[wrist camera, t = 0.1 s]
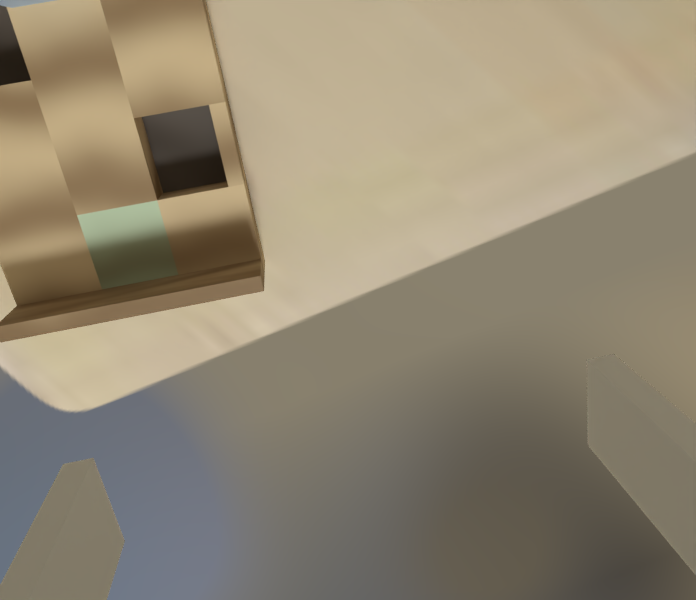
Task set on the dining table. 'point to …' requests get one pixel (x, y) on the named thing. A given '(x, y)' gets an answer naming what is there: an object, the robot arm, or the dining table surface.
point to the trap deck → (118, 165)
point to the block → (20, 2)
